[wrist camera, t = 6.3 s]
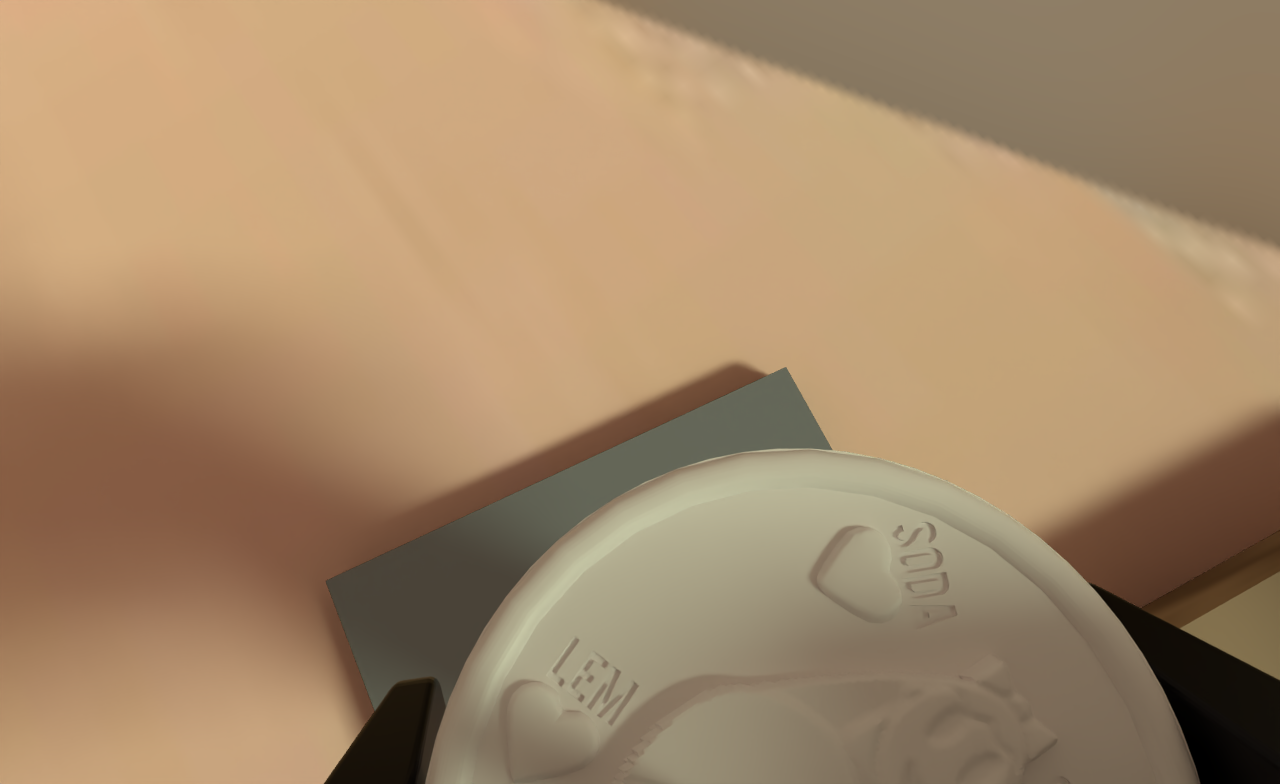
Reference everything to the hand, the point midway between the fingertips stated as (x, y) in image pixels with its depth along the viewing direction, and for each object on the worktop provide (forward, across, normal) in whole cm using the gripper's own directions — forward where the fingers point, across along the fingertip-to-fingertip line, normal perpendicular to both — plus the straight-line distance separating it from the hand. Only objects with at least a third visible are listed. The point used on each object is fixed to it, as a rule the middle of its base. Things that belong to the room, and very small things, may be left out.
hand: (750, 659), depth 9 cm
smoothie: (+5, 0, +6) cm, 8 cm away
